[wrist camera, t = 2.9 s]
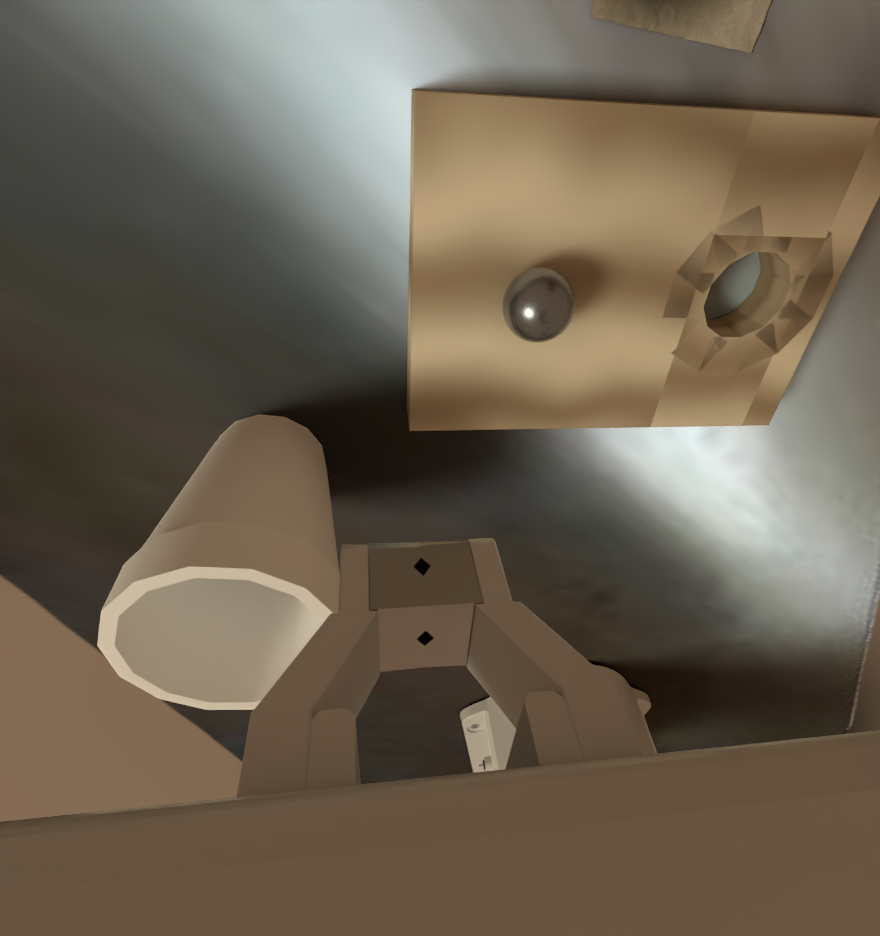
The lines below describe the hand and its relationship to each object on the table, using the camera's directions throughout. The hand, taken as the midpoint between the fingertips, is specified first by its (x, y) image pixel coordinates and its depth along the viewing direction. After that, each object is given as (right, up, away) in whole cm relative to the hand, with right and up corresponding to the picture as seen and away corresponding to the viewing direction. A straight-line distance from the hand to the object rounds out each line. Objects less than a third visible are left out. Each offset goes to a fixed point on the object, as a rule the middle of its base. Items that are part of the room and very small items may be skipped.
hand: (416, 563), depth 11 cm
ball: (+5, +9, +13) cm, 17 cm away
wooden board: (+9, +12, +17) cm, 23 cm away
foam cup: (-10, +2, +21) cm, 24 cm away
